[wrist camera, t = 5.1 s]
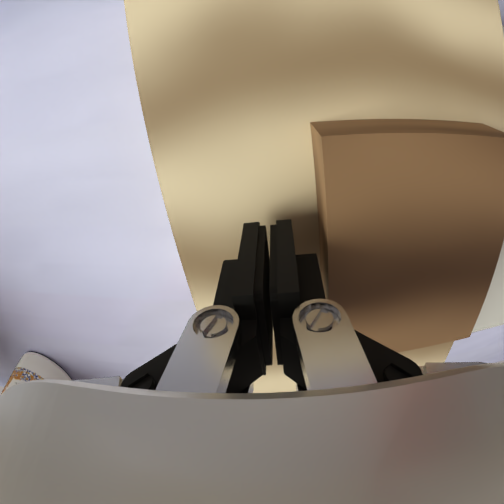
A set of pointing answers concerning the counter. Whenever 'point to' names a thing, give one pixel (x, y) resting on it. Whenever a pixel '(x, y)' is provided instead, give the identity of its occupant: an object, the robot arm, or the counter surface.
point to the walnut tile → (409, 224)
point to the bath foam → (35, 370)
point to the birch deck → (292, 107)
